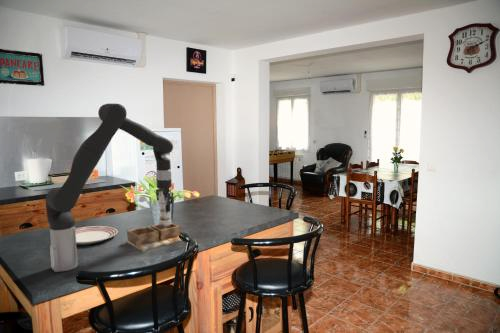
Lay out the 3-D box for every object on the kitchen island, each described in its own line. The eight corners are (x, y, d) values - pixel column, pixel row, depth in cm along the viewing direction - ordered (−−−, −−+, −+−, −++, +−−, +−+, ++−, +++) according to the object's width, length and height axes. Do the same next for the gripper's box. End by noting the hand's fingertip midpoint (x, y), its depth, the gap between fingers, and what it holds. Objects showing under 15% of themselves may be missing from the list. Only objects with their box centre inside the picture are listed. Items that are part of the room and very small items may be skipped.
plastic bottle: (156, 228, 186) (155, 190, 183) (167, 225, 190) (166, 188, 188) (163, 230, 181) (161, 192, 179) (174, 228, 186) (173, 190, 183)
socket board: (142, 251, 166) (141, 238, 165) (126, 241, 179) (125, 230, 179) (186, 239, 182) (186, 228, 181) (169, 231, 195) (168, 221, 195)
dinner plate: (117, 228, 202) (117, 223, 202) (118, 243, 177) (118, 237, 177) (63, 234, 193) (63, 228, 192) (56, 251, 167) (55, 244, 167)
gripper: (150, 177, 185) (151, 209, 187) (164, 180, 175) (165, 214, 177) (163, 176, 190) (164, 206, 192) (177, 179, 180) (178, 211, 182)
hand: (164, 210), depth 185 cm, fingers closed on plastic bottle, 6 cm apart
